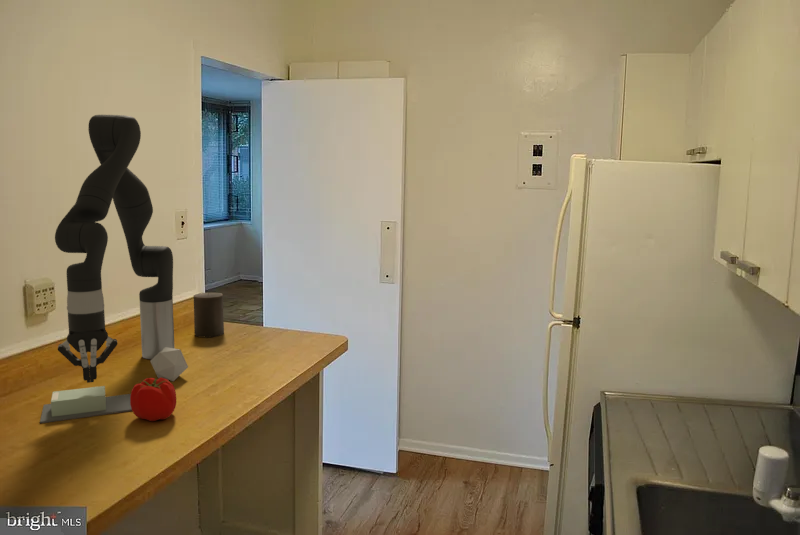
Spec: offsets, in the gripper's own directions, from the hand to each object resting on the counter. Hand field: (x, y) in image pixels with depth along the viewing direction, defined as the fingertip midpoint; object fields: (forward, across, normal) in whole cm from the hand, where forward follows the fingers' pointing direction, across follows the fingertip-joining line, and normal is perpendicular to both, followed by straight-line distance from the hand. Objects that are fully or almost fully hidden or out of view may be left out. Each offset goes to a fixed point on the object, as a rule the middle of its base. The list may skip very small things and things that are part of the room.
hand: (90, 381), depth 145 cm
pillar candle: (+7, -36, -58) cm, 69 cm away
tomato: (+7, -13, +11) cm, 19 cm away
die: (+7, -19, -16) cm, 25 cm away
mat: (+6, 0, 0) cm, 7 cm away
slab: (+4, -3, 0) cm, 5 cm away
